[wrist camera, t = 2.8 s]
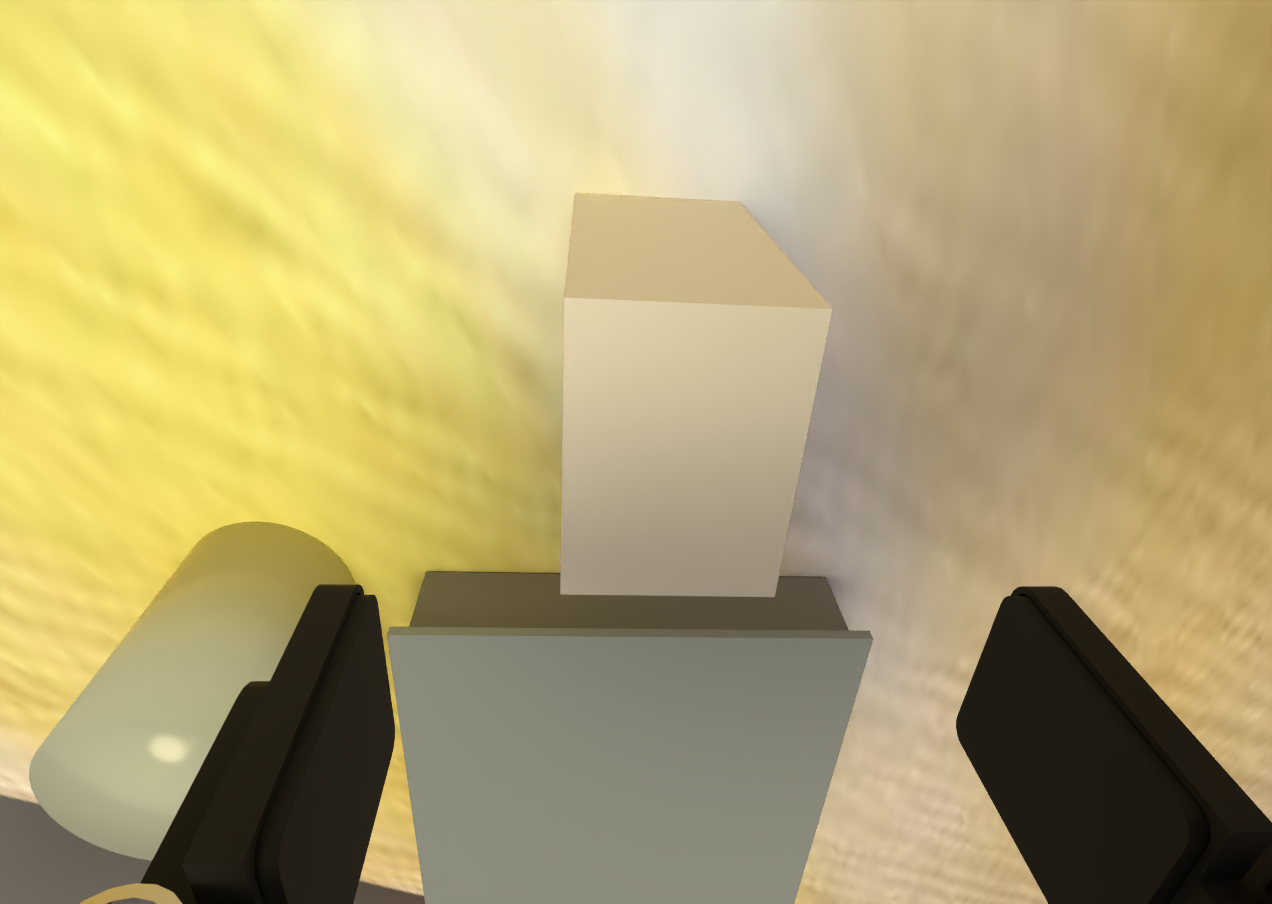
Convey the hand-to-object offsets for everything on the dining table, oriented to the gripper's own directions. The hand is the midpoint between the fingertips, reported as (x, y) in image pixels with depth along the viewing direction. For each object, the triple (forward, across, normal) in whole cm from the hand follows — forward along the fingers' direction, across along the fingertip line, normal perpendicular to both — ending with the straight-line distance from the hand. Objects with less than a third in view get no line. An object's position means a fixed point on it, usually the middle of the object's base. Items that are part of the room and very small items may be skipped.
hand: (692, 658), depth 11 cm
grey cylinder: (+15, +13, +11) cm, 23 cm away
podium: (+15, -1, +18) cm, 24 cm away
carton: (+15, -1, -1) cm, 15 cm away
